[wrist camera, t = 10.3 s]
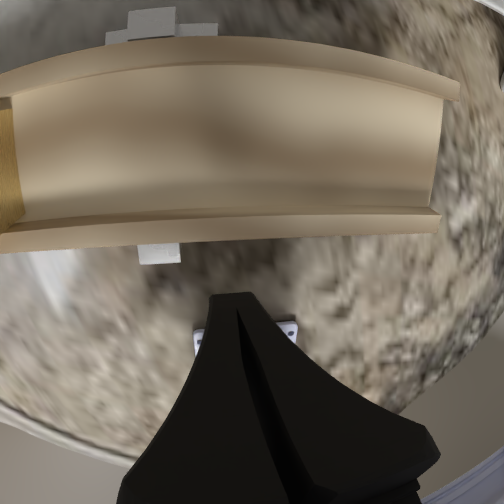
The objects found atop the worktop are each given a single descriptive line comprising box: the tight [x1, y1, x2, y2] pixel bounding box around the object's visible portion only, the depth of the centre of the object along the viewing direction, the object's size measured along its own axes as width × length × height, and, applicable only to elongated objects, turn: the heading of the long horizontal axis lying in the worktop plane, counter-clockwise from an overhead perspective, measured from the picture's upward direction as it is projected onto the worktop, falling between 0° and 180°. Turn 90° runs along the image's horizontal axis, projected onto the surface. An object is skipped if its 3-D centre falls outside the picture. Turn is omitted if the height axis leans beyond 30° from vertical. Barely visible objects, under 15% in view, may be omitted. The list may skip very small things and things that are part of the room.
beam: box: [0, 36, 460, 254], centre depth 12 cm, size 8×28×3 cm, turn 89°
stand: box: [105, 6, 218, 265], centre depth 14 cm, size 12×6×5 cm, turn 179°
